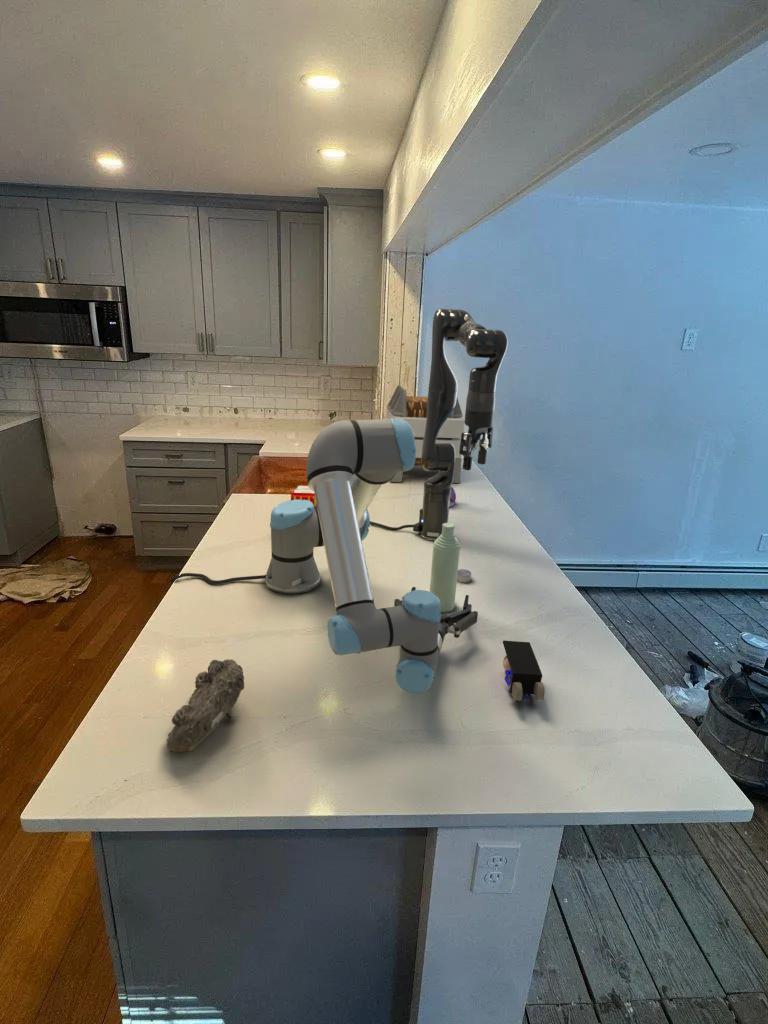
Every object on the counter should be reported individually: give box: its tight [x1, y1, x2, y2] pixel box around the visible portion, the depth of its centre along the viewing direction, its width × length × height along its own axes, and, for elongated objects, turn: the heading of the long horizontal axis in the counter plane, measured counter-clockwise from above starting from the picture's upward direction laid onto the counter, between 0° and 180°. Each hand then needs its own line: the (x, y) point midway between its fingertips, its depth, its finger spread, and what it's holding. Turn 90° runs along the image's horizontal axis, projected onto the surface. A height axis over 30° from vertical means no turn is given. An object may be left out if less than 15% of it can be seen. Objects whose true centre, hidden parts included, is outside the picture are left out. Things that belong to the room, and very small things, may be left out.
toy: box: [290, 485, 317, 506], centre depth 209 cm, size 12×13×30 cm
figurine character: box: [502, 639, 546, 706], centre depth 119 cm, size 7×8×15 cm
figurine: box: [449, 484, 457, 508], centre depth 230 cm, size 9×10×15 cm
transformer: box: [385, 384, 465, 484], centre depth 268 cm, size 34×33×41 cm
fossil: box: [166, 658, 245, 754], centre depth 106 cm, size 22×10×15 cm
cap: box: [457, 568, 472, 584], centre depth 168 cm, size 4×4×2 cm
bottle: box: [429, 522, 461, 613], centre depth 149 cm, size 7×7×23 cm
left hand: (440, 595), depth 144 cm, fingers open, 13 cm apart
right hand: (474, 466), depth 156 cm, fingers open, 8 cm apart
